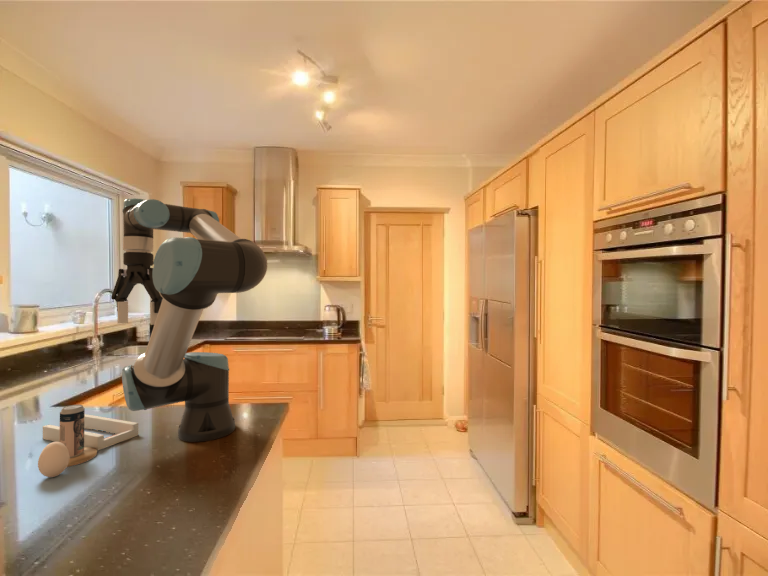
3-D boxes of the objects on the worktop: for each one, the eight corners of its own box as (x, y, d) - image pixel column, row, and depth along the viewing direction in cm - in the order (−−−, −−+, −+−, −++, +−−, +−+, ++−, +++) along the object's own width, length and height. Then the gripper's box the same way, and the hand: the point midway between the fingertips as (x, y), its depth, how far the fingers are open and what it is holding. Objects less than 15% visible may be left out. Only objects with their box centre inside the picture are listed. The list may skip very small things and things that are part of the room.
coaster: (106, 453, 96) (106, 450, 96) (61, 471, 87) (61, 467, 87) (80, 448, 100) (80, 445, 100) (34, 464, 90) (34, 461, 90)
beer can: (82, 457, 93) (83, 408, 93) (57, 461, 90) (57, 411, 90) (85, 450, 97) (86, 403, 97) (61, 454, 94) (62, 405, 94)
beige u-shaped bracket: (138, 435, 108) (138, 422, 108) (97, 450, 98) (97, 437, 98) (85, 425, 116) (85, 414, 116) (42, 438, 106) (42, 426, 106)
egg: (43, 484, 81) (43, 449, 81) (34, 478, 84) (34, 443, 84) (73, 474, 86) (73, 440, 86) (64, 468, 88) (64, 435, 88)
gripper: (181, 251, 111) (181, 323, 111) (122, 254, 120) (122, 321, 120) (157, 249, 104) (158, 326, 104) (97, 252, 113) (97, 323, 113)
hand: (138, 323), depth 112 cm, fingers open, 13 cm apart
